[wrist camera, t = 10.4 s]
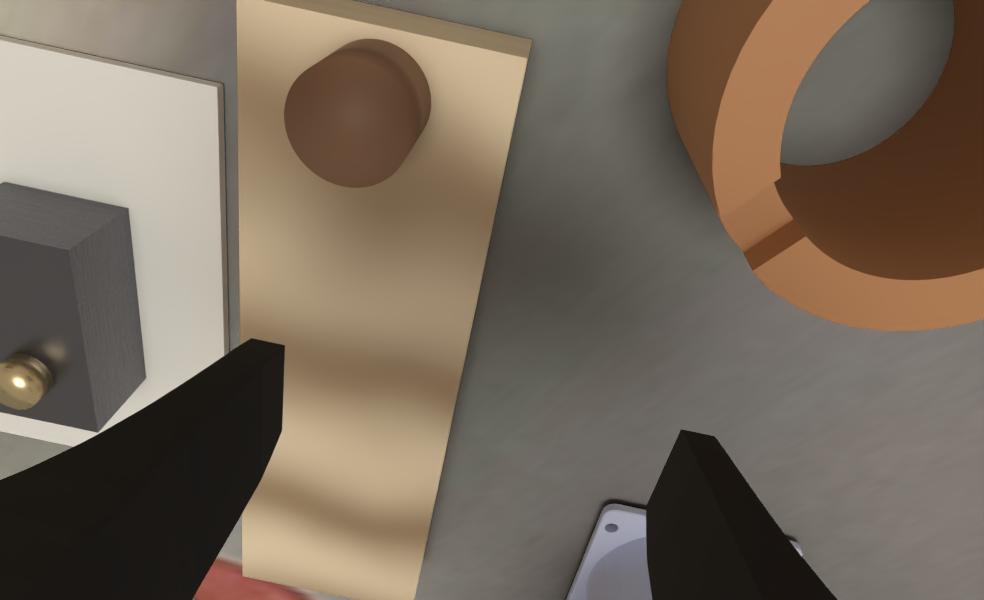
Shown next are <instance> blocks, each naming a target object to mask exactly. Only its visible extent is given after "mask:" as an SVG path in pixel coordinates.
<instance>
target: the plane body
mask: <svg viewBox="0 0 984 600" xmlns="http://www.w3.org/2000/svg"><path fill="white" fill-rule="evenodd" d="M531 44H532V40H531V39H527V38H522V37H517V36H513V35H508V34H504V33H499V32H495V31H490V30H486V29H481V28H477V27H472V26H468V25H463V24H458V23H454V22H449V21H445V20H440V19H436V18H431V17H427V16H422V15H418V14H413V13H408V12H404V11H399V10H395V9H390V8H386V7H381V6H377V5H372V4H368V3H363V2H358V1H354V0H237V81H238V176H239V271H240V345H241V344H243V343H244V342H246V341H247V340H249V339H251V338H253V339H258V340H263V341H267V342H272V343H277V344H282V345H285V360H284V390H283V421H282V432H281V435H280V437H279V439H278V442H277V444H276V447H275V449H274V452H273V454H272V456H271V459H270V461H269V463H268V466H267V468H266V470H265V472H264V475H263V477H262V479H261V481H260V483H259V485H258V487H257V488H256V490H255V492H254V494H253V495H252V497H251V499H250V501H249V502H248V504H247V506H246V507H245V509H244V511H243V513H242V555H243V576H244V577H249V578H254V579H259V580H264V581H269V582H273V583H278V584H283V585H288V586H293V587H297V588H302V589H307V590H312V591H317V592H322V593H326V594H331V595H336V596H341V597H346V598H351V599H355V600H414V599H415V595H416V590H417V586H418V581H419V577H420V572H421V568H422V563H423V559H424V554H425V549H426V544H427V539H428V535H429V530H430V525H431V520H432V516H433V511H434V506H435V501H436V497H437V492H438V487H439V482H440V478H441V473H442V468H443V463H444V458H445V454H446V449H447V444H448V439H449V435H450V430H451V425H452V420H453V416H454V411H455V406H456V401H457V397H458V392H459V387H460V382H461V378H462V373H463V368H464V363H465V358H466V354H467V349H468V344H469V339H470V335H471V330H472V325H473V320H474V316H475V311H476V306H477V301H478V297H479V292H480V287H481V282H482V277H483V273H484V268H485V263H486V258H487V254H488V249H489V244H490V239H491V235H492V230H493V225H494V220H495V216H496V211H497V206H498V201H499V197H500V192H501V187H502V182H503V177H504V173H505V168H506V163H507V158H508V154H509V149H510V144H511V139H512V135H513V130H514V125H515V120H516V116H517V111H518V106H519V101H520V97H521V92H522V87H523V82H524V77H525V73H526V68H527V63H528V58H529V54H530V49H531Z"/></svg>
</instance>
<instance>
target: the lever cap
mask: <svg viewBox="0 0 984 600" xmlns="http://www.w3.org/2000/svg"><path fill="white" fill-rule="evenodd" d="M145 379H146V370H145V360H144V351H143V341H142V332H141V322H140V313H139V303H138V294H137V284H136V275H135V265H134V256H133V246H132V237H131V227H130V218H129V208H125V207H121V206H116V205H111V204H107V203H102V202H97V201H93V200H88V199H83V198H79V197H74V196H69V195H65V194H60V193H55V192H51V191H46V190H41V189H37V188H32V187H27V186H23V185H18V184H13V183H9V182H3V183H1V184H0V412H2V413H6V414H11V415H16V416H21V417H25V418H30V419H35V420H40V421H44V422H49V423H54V424H59V425H64V426H68V427H73V428H78V429H83V430H87V431H92V432H97V433H98V432H99V431H100V430H101V429H102V428H103V427H104V426H105V424H106V423H107V422H108V421H109V420H110V419H111V418H112V416H113V415H114V414H115V413H116V412H117V411H118V410H119V409H120V407H121V406H122V405H123V404H124V403H125V402H126V401H127V400H128V398H129V397H130V396H131V395H132V394H133V393H134V392H135V390H136V389H137V388H138V387H139V386H140V385H141V384H142V383H143V381H144V380H145Z"/></svg>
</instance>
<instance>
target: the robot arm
mask: <svg viewBox="0 0 984 600" xmlns="http://www.w3.org/2000/svg"><path fill="white" fill-rule="evenodd" d="M284 360H285V345H282V344H277V343H272V342H267V341H263V340H258V339H253V338H251V339H249V340H247V341H246V342H244V343H243V344H241V345H240V346H238V347H236V348H235V349H233V350H232V351H230V352H229V353H228V354H226V355H225V356H223V357H222V358H220V359H219V360H217V361H216V362H214V363H213V364H211V365H210V366H208V367H207V368H205V369H204V370H202V371H201V372H199V373H198V374H196V375H195V376H193V377H192V378H190V379H189V380H187V381H186V382H184V383H183V384H181V385H179V386H178V387H176V388H175V389H173V390H172V391H170V392H168V393H167V394H165V395H164V396H162V397H161V398H159V399H157V400H156V401H154V402H153V403H151V404H149V405H148V406H146V407H145V408H143V409H141V410H139V411H138V412H136V413H134V414H132V415H131V416H129V417H127V418H126V419H124V420H122V421H120V422H119V423H117V424H115V425H113V426H112V427H110V428H108V429H106V430H105V431H103V432H101V433H99V434H98V435H96V436H94V437H92V438H90V439H88V440H86V441H84V442H82V443H80V444H78V445H76V446H74V447H73V448H71V449H68V450H66V451H64V452H62V453H60V454H58V455H56V456H54V457H52V458H50V459H48V460H45V461H43V462H41V463H39V464H37V465H35V466H33V467H30V468H28V469H26V470H24V471H21V472H19V473H17V474H14V475H12V476H9V477H7V478H4V479H2V480H0V600H192V599H193V597H194V595H195V593H196V592H197V590H198V588H199V586H200V585H201V583H202V581H203V579H204V578H205V576H206V574H207V573H208V571H209V569H210V567H211V566H212V564H213V562H214V561H215V559H216V557H217V555H218V554H219V552H220V550H221V549H222V547H223V545H224V544H225V542H226V540H227V538H228V537H229V535H230V533H231V532H232V530H233V528H234V526H235V525H236V523H237V521H238V520H239V518H240V516H241V514H242V513H243V511H244V509H245V507H246V506H247V504H248V502H249V501H250V499H251V497H252V495H253V494H254V492H255V490H256V488H257V487H258V485H259V483H260V481H261V479H262V477H263V475H264V472H265V470H266V468H267V466H268V463H269V461H270V459H271V456H272V454H273V452H274V449H275V447H276V444H277V442H278V439H279V437H280V435H281V432H282V421H283V390H284ZM609 524H613V525H609ZM802 555H803V554H802V551H801V548H800V545H799V544H798V543H797V542H794V541H791V540H788V538H787V537H786V536H785V534H784V533H783V532H782V530H781V529H780V528H779V526H778V525H777V524H776V522H775V521H774V519H773V518H772V517H771V515H770V514H769V513H768V511H767V510H766V508H765V507H764V506H763V504H762V503H761V501H760V500H759V499H758V497H757V496H756V494H755V493H754V492H753V490H752V489H751V487H750V486H749V484H748V483H747V482H746V480H745V479H744V477H743V476H742V474H741V473H740V472H739V470H738V469H737V467H736V466H735V464H734V463H733V461H732V460H731V459H730V457H729V456H728V454H727V453H726V451H725V450H724V449H723V447H722V446H721V444H720V443H719V442H718V440H717V439H716V438H715V437H714V436H710V435H705V434H700V433H696V432H691V431H686V430H682V429H681V431H680V433H679V436H678V438H677V440H676V442H675V444H674V447H673V449H672V451H671V453H670V455H669V458H668V460H667V462H666V464H665V466H664V469H663V471H662V473H661V475H660V477H659V480H658V482H657V484H656V486H655V489H654V491H653V493H652V495H651V497H650V500H649V502H648V504H647V506H646V510H644V509H639V508H634V507H630V506H625V505H620V504H609V505H607V506H605V507H604V508H603V510H602V512H601V514H600V517H599V519H598V522H597V524H596V527H595V529H594V532H593V534H592V536H591V539H590V541H589V544H588V546H587V549H586V551H585V554H584V556H583V559H582V561H581V564H580V566H579V569H578V571H577V574H576V576H575V579H574V581H573V584H572V586H571V588H570V591H569V593H568V596H567V598H566V600H837V599H836V598H835V596H834V595H833V594H832V593H831V592H830V591H829V589H828V588H827V587H826V586H825V585H824V583H823V582H822V581H821V580H820V578H819V577H818V576H817V575H816V574H815V572H814V571H813V570H812V569H811V567H810V566H809V565H808V564H807V563H806V561H805V560H804V559H803V558H802Z"/></svg>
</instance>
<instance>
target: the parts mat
mask: <svg viewBox="0 0 984 600" xmlns="http://www.w3.org/2000/svg"><path fill="white" fill-rule="evenodd" d="M3 182H9V183H13V184H18V185H23V186H27V187H32V188H37V189H41V190H46V191H51V192H55V193H60V194H65V195H69V196H74V197H79V198H83V199H88V200H93V201H97V202H102V203H107V204H111V205H116V206H121V207H125V208H129V218H130V227H131V237H132V246H133V256H134V265H135V275H136V284H137V294H138V303H139V313H140V322H141V332H142V341H143V351H144V360H145V370H146V379H145V380H144V381H143V383H142V384H141V385H140V386H139V387H138V388H137V389H136V390H135V392H134V393H133V394H132V395H131V396H130V397H129V398H128V400H127V401H126V402H125V403H124V404H123V405H122V406H121V407H120V409H119V410H118V411H117V412H116V413H115V414H114V415H113V416H112V418H111V419H110V420H109V421H108V422H107V423H106V424H105V426H104V427H103V428H102V429H101V430H100V431H99V432H98V433H97V432H92V431H87V430H83V429H78V428H73V427H68V426H64V425H59V424H54V423H49V422H44V421H40V420H35V419H30V418H25V417H21V416H16V415H11V414H6V413H2V412H0V431H2V432H7V433H12V434H16V435H21V436H26V437H31V438H35V439H40V440H45V441H50V442H55V443H59V444H64V445H69V446H76V445H78V444H80V443H82V442H84V441H86V440H88V439H90V438H92V437H94V436H96V435H98V434H99V433H101V432H103V431H105V430H106V429H108V428H110V427H112V426H113V425H115V424H117V423H119V422H120V421H122V420H124V419H126V418H127V417H129V416H131V415H132V414H134V413H136V412H138V411H139V410H141V409H143V408H145V407H146V406H148V405H149V404H151V403H153V402H154V401H156V400H157V399H159V398H161V397H162V396H164V395H165V394H167V393H168V392H170V391H172V390H173V389H175V388H176V387H178V386H179V385H181V384H183V383H184V382H186V381H187V380H189V379H190V378H192V377H193V376H195V375H196V374H198V373H199V372H201V371H202V370H204V369H205V368H207V367H208V366H210V365H211V364H213V363H214V362H216V361H217V360H219V359H220V358H222V357H223V356H225V355H226V354H228V353H229V322H228V275H227V229H226V182H225V136H224V89H223V84H221V83H217V82H212V81H207V80H203V79H198V78H194V77H189V76H184V75H180V74H175V73H171V72H166V71H161V70H157V69H152V68H148V67H143V66H138V65H134V64H129V63H125V62H120V61H115V60H111V59H106V58H102V57H97V56H93V55H88V54H83V53H79V52H74V51H70V50H65V49H60V48H56V47H51V46H47V45H42V44H37V43H33V42H28V41H24V40H19V39H14V38H10V37H5V36H1V35H0V184H1V183H3Z"/></svg>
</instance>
